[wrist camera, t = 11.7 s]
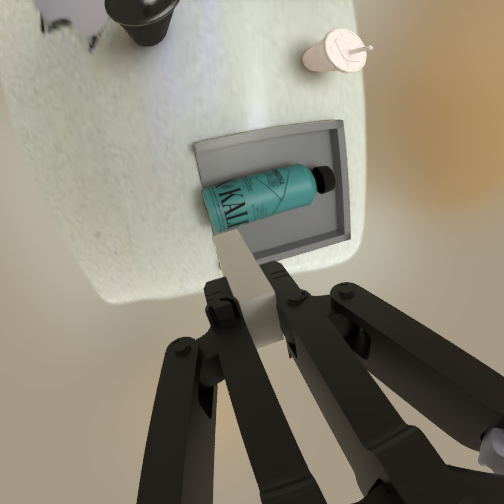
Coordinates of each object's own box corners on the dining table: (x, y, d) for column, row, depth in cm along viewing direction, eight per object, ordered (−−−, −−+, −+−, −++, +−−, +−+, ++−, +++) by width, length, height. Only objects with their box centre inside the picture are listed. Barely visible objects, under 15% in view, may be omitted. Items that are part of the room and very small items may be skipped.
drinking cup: (139, 65, 31) (114, 17, 14) (113, 29, 28) (76, -34, 10) (187, 36, 31) (205, -29, 14) (160, 1, 27) (160, -76, 10)
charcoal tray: (193, 142, 38) (194, 144, 35) (333, 119, 42) (343, 120, 39) (221, 266, 47) (225, 275, 45) (341, 232, 51) (350, 239, 48)
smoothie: (318, 87, 39) (374, 80, 27) (285, 62, 36) (334, 42, 24) (337, 59, 37) (395, 46, 25) (306, 34, 35) (358, 10, 22)
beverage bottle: (194, 205, 43) (315, 171, 46) (207, 245, 41) (333, 205, 44) (188, 182, 37) (325, 146, 40) (201, 226, 35) (347, 183, 38)
